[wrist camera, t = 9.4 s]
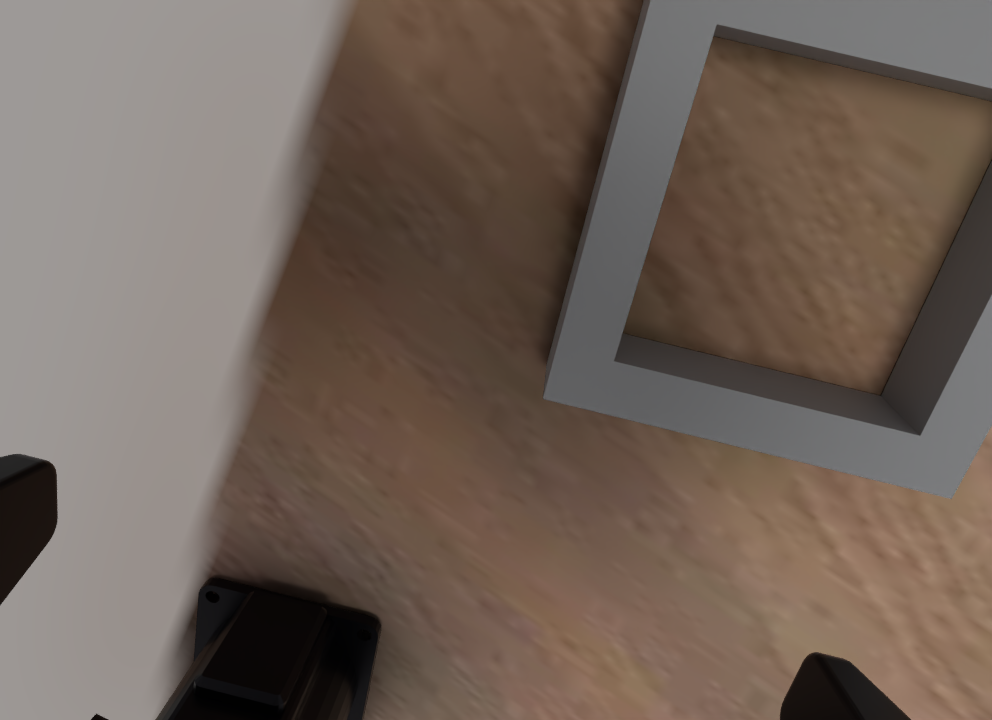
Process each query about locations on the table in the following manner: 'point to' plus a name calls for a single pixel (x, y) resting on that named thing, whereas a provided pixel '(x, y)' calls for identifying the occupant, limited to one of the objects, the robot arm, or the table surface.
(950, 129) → the table surface
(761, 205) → the table surface
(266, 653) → the robot arm
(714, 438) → the dock board
